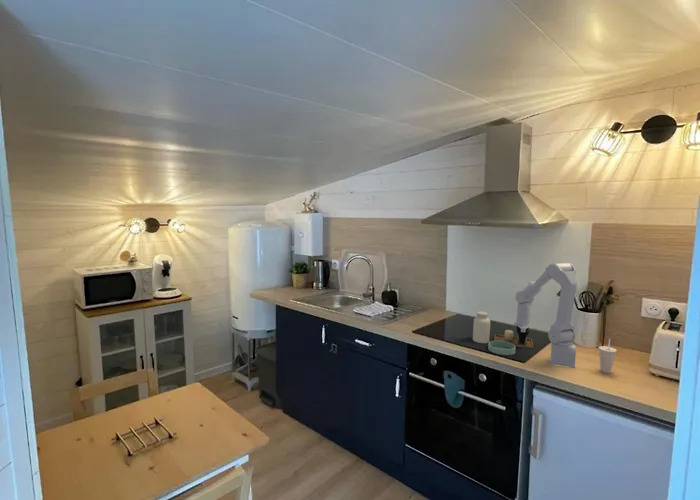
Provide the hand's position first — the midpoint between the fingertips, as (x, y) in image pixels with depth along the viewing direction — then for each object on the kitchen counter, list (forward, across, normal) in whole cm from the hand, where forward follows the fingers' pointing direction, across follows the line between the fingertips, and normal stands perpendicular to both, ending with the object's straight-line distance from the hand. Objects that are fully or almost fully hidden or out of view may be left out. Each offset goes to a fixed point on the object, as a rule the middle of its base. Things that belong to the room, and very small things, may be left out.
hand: (521, 342), depth 192 cm
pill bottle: (+2, +2, -19) cm, 19 cm away
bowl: (+2, +12, -9) cm, 15 cm away
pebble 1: (+1, -3, -6) cm, 7 cm away
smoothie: (+2, +18, +32) cm, 37 cm away
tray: (+2, -2, -4) cm, 5 cm away
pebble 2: (+1, 0, 0) cm, 1 cm away
